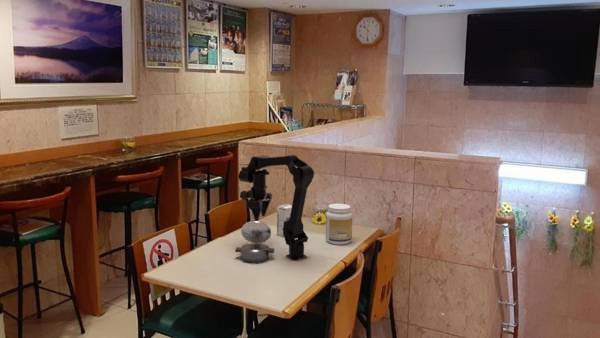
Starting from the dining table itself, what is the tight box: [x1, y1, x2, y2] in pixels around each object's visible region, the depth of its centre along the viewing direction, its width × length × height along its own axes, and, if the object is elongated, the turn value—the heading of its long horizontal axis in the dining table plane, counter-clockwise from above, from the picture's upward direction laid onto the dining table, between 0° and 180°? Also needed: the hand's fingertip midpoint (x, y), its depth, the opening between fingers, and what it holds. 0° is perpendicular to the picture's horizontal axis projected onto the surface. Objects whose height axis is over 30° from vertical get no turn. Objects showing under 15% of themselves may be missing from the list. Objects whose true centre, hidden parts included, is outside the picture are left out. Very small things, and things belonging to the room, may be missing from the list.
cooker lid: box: [240, 220, 272, 244], centre depth 211 cm, size 13×13×3 cm
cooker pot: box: [235, 242, 275, 264], centre depth 209 cm, size 13×14×4 cm
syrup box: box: [276, 203, 292, 238], centre depth 240 cm, size 6×6×14 cm
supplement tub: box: [325, 203, 353, 246], centre depth 231 cm, size 12×12×17 cm
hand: (259, 218), depth 222 cm, fingers open, 9 cm apart
